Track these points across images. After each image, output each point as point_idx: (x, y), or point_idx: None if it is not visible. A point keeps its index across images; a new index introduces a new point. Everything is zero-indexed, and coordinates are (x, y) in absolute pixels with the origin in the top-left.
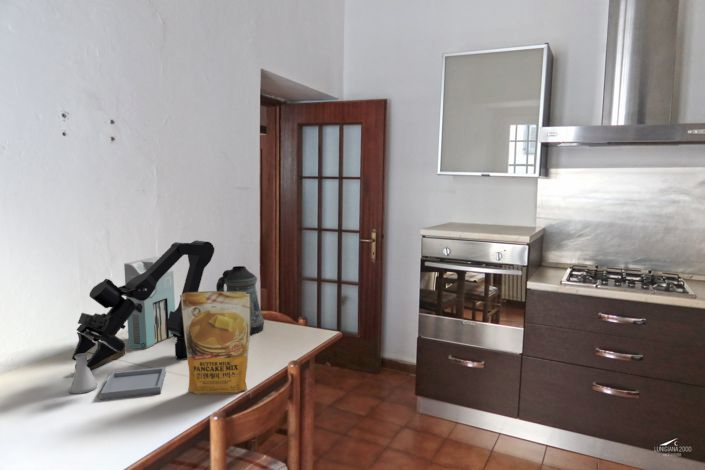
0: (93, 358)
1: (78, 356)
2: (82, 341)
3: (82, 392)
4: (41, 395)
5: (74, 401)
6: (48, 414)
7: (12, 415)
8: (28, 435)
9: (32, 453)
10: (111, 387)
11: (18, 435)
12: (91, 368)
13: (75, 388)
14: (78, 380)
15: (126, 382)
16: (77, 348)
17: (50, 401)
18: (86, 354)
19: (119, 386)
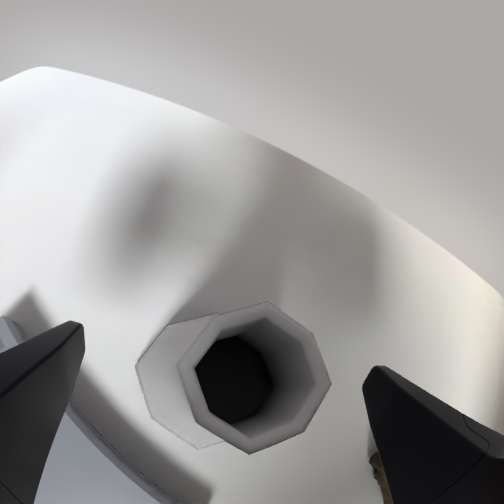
0: (5, 358)
1: (300, 371)
2: (484, 470)
3: (153, 342)
4: (298, 247)
5: (109, 268)
6: (109, 165)
7: (213, 129)
8: (68, 100)
9: (16, 87)
10: (60, 430)
11: (91, 92)
12: (383, 492)
13: (187, 323)
14: (182, 332)
15: (60, 497)
16: (438, 414)
17: (206, 227)
18: (220, 429)
19: None
